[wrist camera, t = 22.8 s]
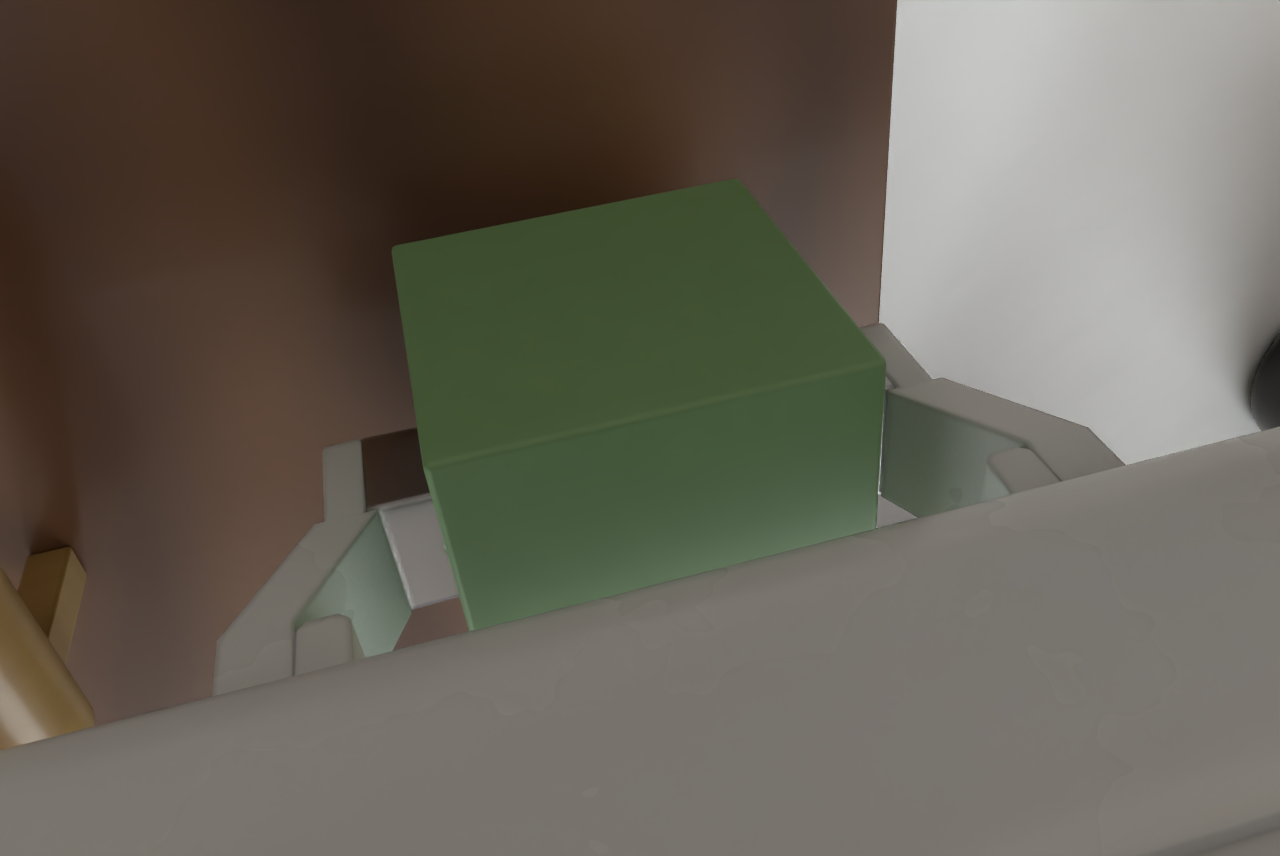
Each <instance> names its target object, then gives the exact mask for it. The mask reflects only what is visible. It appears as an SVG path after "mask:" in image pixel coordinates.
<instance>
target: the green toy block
mask: <svg viewBox="0 0 1280 856" xmlns="http://www.w3.org/2000/svg"><path fill="white" fill-rule="evenodd" d="M392 259H393V266H394V272H395V279H396V286H397V293H398V300H399V307H400V313H401V320H402V327H403V334H404V341H405V348H406V354H407V361H408V368H409V375H410V382H411V389H412V395H413V402H414V409H415V416H416V423H417V430H418V436H419V443H420V450H421V457H422V464H423V469H424V473H425V476H426V480H427V483H428V487H429V490H430V494H431V498H432V501H433V505H434V508H435V512H436V515H437V519H438V522H439V526H440V529H441V533H442V537H443V540H444V544H445V547H446V551H447V554H448V558H449V561H450V565H451V568H452V572H453V576H454V579H455V583H456V586H457V590H458V593H459V597H460V600H461V604H462V608H463V611H464V615H465V618H466V622H467V625H468V629H469V631H473V630H477V629H481V628H485V627H489V626H493V625H497V624H501V623H505V622H509V621H513V620H517V619H521V618H524V617H528V616H532V615H536V614H540V613H544V612H548V611H552V610H556V609H560V608H564V607H568V606H572V605H576V604H580V603H584V602H588V601H592V600H596V599H600V598H604V597H607V596H611V595H615V594H619V593H623V592H627V591H631V590H635V589H639V588H643V587H647V586H651V585H655V584H659V583H663V582H667V581H671V580H675V579H679V578H683V577H687V576H690V575H694V574H698V573H702V572H706V571H710V570H714V569H718V568H722V567H726V566H730V565H734V564H738V563H742V562H746V561H750V560H754V559H758V558H762V557H766V556H769V555H773V554H777V553H781V552H785V551H789V550H793V549H797V548H801V547H805V546H809V545H813V544H817V543H821V542H825V541H829V540H833V539H837V538H841V537H844V536H848V535H852V534H856V533H860V532H864V531H868V530H872V529H876V520H877V504H878V488H879V473H880V457H881V441H882V426H883V410H884V395H885V379H886V361H885V358H884V357H883V356H882V355H881V353H880V352H879V351H878V350H877V348H876V347H875V346H874V345H873V343H872V342H871V341H870V340H869V339H868V337H867V336H866V335H865V334H864V332H863V331H862V330H861V329H860V327H859V326H858V325H857V324H856V323H855V321H854V320H853V319H852V318H851V316H850V315H849V314H848V313H847V311H846V310H845V309H844V308H843V307H842V305H841V304H840V303H839V302H838V300H837V299H836V298H835V297H834V295H833V294H832V293H831V292H830V291H829V289H828V288H827V287H826V286H825V284H824V283H823V282H822V281H821V279H820V278H819V277H818V276H817V275H816V273H815V272H814V271H813V270H812V268H811V267H810V266H809V265H808V263H807V262H806V261H805V260H804V259H803V257H802V256H801V255H800V254H799V252H798V251H797V250H796V249H795V247H794V246H793V245H792V244H791V243H790V241H789V240H788V239H787V238H786V236H785V235H784V234H783V233H782V231H781V230H780V229H779V228H778V227H777V225H776V224H775V223H774V222H773V220H772V219H771V218H770V217H769V215H768V214H767V213H766V212H765V211H764V209H763V208H762V207H761V206H760V204H759V203H758V202H757V201H756V199H755V198H754V197H753V196H752V195H751V193H750V192H749V191H748V190H747V188H746V187H745V186H744V185H743V183H742V182H741V181H740V180H739V179H729V180H724V181H719V182H714V183H709V184H704V185H699V186H694V187H689V188H684V189H679V190H674V191H669V192H664V193H658V194H653V195H648V196H643V197H638V198H633V199H628V200H623V201H618V202H613V203H608V204H603V205H598V206H593V207H588V208H582V209H577V210H572V211H567V212H562V213H557V214H552V215H547V216H542V217H537V218H532V219H527V220H522V221H517V222H512V223H507V224H501V225H496V226H491V227H486V228H481V229H476V230H471V231H466V232H461V233H456V234H451V235H446V236H441V237H436V238H431V239H425V240H420V241H415V242H410V243H405V244H400V245H396V246H394V247H393V248H392Z"/></svg>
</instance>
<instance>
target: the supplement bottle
mask: <svg viewBox="0 0 1280 856" xmlns="http://www.w3.org/2000/svg"><path fill="white" fill-rule="evenodd" d="M1251 409H1252V413H1253V417H1254V419H1255V421H1256V423H1257V425H1258V427H1259V428H1260V429H1261V431H1264V430H1268V429H1272V428H1276V427H1280V335H1279V337H1278V338H1277V339H1276V340H1275V342H1274V343H1273V344H1272V346H1271V347H1270V348H1269V350H1268V351H1267V353H1266V354H1265V356H1264V358H1263V360H1262V361H1261V363H1260V365H1259V367H1258V370H1257V372H1256V375H1255V378H1254V381H1253V385H1252V390H1251Z"/></svg>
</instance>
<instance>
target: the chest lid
mask: <svg viewBox="0 0 1280 856" xmlns="http://www.w3.org/2000/svg"><path fill="white" fill-rule="evenodd" d="M896 11H897V0H0V750H3V749H7V748H11V747H15V746H19V745H23V744H27V743H31V742H35V741H39V740H42V739H46V738H50V737H54V736H58V735H62V734H66V733H70V732H74V731H78V730H82V729H86V728H90V727H94V726H98V725H102V724H106V723H110V722H114V721H118V720H121V719H125V718H129V717H133V716H137V715H141V714H145V713H149V712H153V711H157V710H161V709H165V708H169V707H173V706H177V705H181V704H185V703H189V702H193V701H196V700H200V699H204V698H208V697H212V692H213V681H214V670H215V659H216V648H217V640H218V639H219V638H220V637H221V636H222V634H223V633H224V632H225V631H226V630H227V628H228V627H229V626H230V625H231V624H232V622H233V621H234V620H235V619H236V617H237V616H238V615H239V614H240V613H241V611H242V610H243V609H244V608H245V607H246V605H247V604H248V603H249V602H250V601H251V599H252V598H253V597H254V596H255V595H256V593H257V592H258V591H259V590H260V589H261V587H262V586H263V585H264V584H265V583H266V581H267V580H268V579H269V578H270V577H271V575H272V574H273V573H274V572H275V571H276V569H277V568H278V567H279V566H280V565H281V563H282V562H283V561H284V560H285V559H286V557H287V556H288V555H289V554H290V553H291V551H292V550H293V549H294V548H295V546H296V545H297V544H298V543H299V542H300V540H301V539H302V538H303V537H304V536H305V534H306V533H307V532H308V531H309V530H310V528H311V527H312V526H313V525H314V524H317V523H321V522H324V495H323V454H322V453H323V451H324V448H325V446H330V445H334V444H339V443H343V442H348V441H352V440H357V439H361V440H362V439H363V438H366V437H371V436H376V435H381V434H386V433H391V432H396V431H401V430H406V429H411V428H416V427H417V423H416V416H415V409H414V402H413V395H412V389H411V382H410V375H409V368H408V361H407V354H406V348H405V341H404V334H403V327H402V320H401V313H400V307H399V300H398V293H397V286H396V279H395V272H394V266H393V259H392V248H393V247H394V246H396V245H400V244H405V243H410V242H415V241H420V240H425V239H431V238H436V237H441V236H446V235H451V234H456V233H461V232H466V231H471V230H476V229H481V228H486V227H491V226H496V225H501V224H507V223H512V222H517V221H522V220H527V219H532V218H537V217H542V216H547V215H552V214H557V213H562V212H567V211H572V210H577V209H582V208H588V207H593V206H598V205H603V204H608V203H613V202H618V201H623V200H628V199H633V198H638V197H643V196H648V195H653V194H658V193H664V192H669V191H674V190H679V189H684V188H689V187H694V186H699V185H704V184H709V183H714V182H719V181H724V180H729V179H739V180H740V181H741V182H742V183H743V185H744V186H745V187H746V188H747V190H748V191H749V192H750V193H751V195H752V196H753V197H754V198H755V199H756V201H757V202H758V203H759V204H760V206H761V207H762V208H763V209H764V211H765V212H766V213H767V214H768V215H769V217H770V218H771V219H772V220H773V222H774V223H775V224H776V225H777V227H778V228H779V229H780V230H781V231H782V233H783V234H784V235H785V236H786V238H787V239H788V240H789V241H790V243H791V244H792V245H793V246H794V247H795V249H796V250H797V251H798V252H799V254H800V255H801V256H802V257H803V259H804V260H805V261H806V262H807V263H808V265H809V266H810V267H811V268H812V270H813V271H814V272H815V273H816V275H817V276H818V277H819V278H820V279H821V281H822V282H823V283H824V284H825V286H826V287H827V288H828V289H829V291H830V292H831V293H832V294H833V295H834V297H835V298H836V299H837V300H838V302H839V303H840V304H841V305H842V307H843V308H844V309H845V310H846V311H847V313H848V314H849V315H850V316H851V318H852V319H853V320H854V321H855V323H856V324H857V325H858V326H859V327H863V326H867V325H871V324H875V323H879V306H880V289H881V272H882V254H883V237H884V220H885V202H886V185H887V167H888V150H889V133H890V115H891V98H892V80H893V63H894V46H895V28H896ZM411 613H412V614H411V616H410V618H409V620H408V622H407V623H406V625H405V627H404V629H403V631H402V633H401V635H400V637H399V639H398V641H397V643H396V645H395V646H394V648H393V650H392V651H394V650H398V649H402V648H406V647H410V646H414V645H418V644H422V643H426V642H430V641H434V640H438V639H441V638H445V637H449V636H453V635H457V634H461V633H465V632H469V629H468V625H467V622H466V618H465V615H464V611H463V608H462V604H461V600H460V597H457V598H454V599H450V600H446V601H443V602H439V603H435V604H432V605H428V606H425V607H421V608H417V609H414V610H411Z"/></svg>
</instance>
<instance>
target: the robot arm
mask: <svg viewBox="0 0 1280 856" xmlns="http://www.w3.org/2000/svg"><path fill="white" fill-rule="evenodd" d="M860 329H861V330H862V331H863V332H864V334H865V335H866V336H867V337H868V339H869V340H870V341H871V342H872V343H873V345H874V346H875V347H876V348H877V350H878V351H879V352H880V353H881V355H882V356H883V357H884V358H885V361H886V379H885V395H884V410H883V426H882V441H881V457H880V473H879V488H878V494H881V496H882V497H883V498H885V499H887V500H889V501H890V502H892V503H894V504H896V505H897V506H899V507H901V508H903V509H904V510H906V511H908V512H909V513H911V514H913V515H915V516H916V517H918V518H916V519H912V520H908V521H904V522H900V523H896V524H892V525H888V526H884V527H880V528H876V529H872V530H868V531H864V532H860V533H856V534H852V535H848V536H844V537H841V538H837V539H833V540H829V541H825V542H821V543H817V544H813V545H809V546H805V547H801V548H797V549H793V550H789V551H785V552H781V553H777V554H773V555H769V556H766V557H762V558H758V559H754V560H750V561H746V562H742V563H738V564H734V565H730V566H726V567H722V568H718V569H714V570H710V571H706V572H702V573H698V574H694V575H690V576H687V577H683V578H679V579H675V580H671V581H667V582H663V583H659V584H655V585H651V586H647V587H643V588H639V589H635V590H631V591H627V592H623V593H619V594H615V595H611V596H607V597H604V598H600V599H596V600H592V601H588V602H584V603H580V604H576V605H572V606H568V607H564V608H560V609H556V610H552V611H548V612H544V613H540V614H536V615H532V616H528V617H524V618H521V619H517V620H513V621H509V622H505V623H501V624H497V625H493V626H489V627H485V628H481V629H477V630H473V631H469V632H465V633H461V634H457V635H453V636H449V637H445V638H441V639H438V640H434V641H430V642H426V643H422V644H418V645H414V646H410V647H406V648H402V649H398V650H394V651H392V650H393V648H394V646H395V645H396V643H397V641H398V639H399V637H400V635H401V633H402V631H403V629H404V627H405V625H406V623H407V622H408V620H409V618H410V616H411V614H412V613H411V610H414V609H417V608H421V607H425V606H428V605H432V604H435V603H439V602H443V601H446V600H450V599H454V598H457V597H459V593H458V590H457V586H456V583H455V579H454V576H453V572H452V568H451V565H450V561H449V558H448V554H447V551H446V547H445V544H444V540H443V537H442V533H441V529H440V526H439V522H438V519H437V515H436V512H435V508H434V505H433V501H432V498H431V494H430V490H429V487H428V483H427V480H426V476H425V473H424V469H423V464H422V457H421V450H420V443H419V436H418V430H417V427H416V428H411V429H406V430H401V431H396V432H391V433H386V434H381V435H376V436H371V437H366V438H363V439H362V440H361V439H357V440H352V441H348V442H343V443H339V444H334V445H330V446H325V448H324V451H323V453H322V454H323V495H324V522H321V523H317V524H314V525H313V526H312V527H311V528H310V530H309V531H308V532H307V533H306V534H305V536H304V537H303V538H302V539H301V540H300V542H299V543H298V544H297V545H296V546H295V548H294V549H293V550H292V551H291V553H290V554H289V555H288V556H287V557H286V559H285V560H284V561H283V562H282V563H281V565H280V566H279V567H278V568H277V569H276V571H275V572H274V573H273V574H272V575H271V577H270V578H269V579H268V580H267V581H266V583H265V584H264V585H263V586H262V587H261V589H260V590H259V591H258V592H257V593H256V595H255V596H254V597H253V598H252V599H251V601H250V602H249V603H248V604H247V605H246V607H245V608H244V609H243V610H242V611H241V613H240V614H239V615H238V616H237V617H236V619H235V620H234V621H233V622H232V624H231V625H230V626H229V627H228V628H227V630H226V631H225V632H224V633H223V634H222V636H221V637H220V638H219V639H218V640H217V648H216V659H215V670H214V681H213V692H212V697H208V698H204V699H200V700H196V701H193V702H189V703H185V704H181V705H177V706H173V707H169V708H165V709H161V710H157V711H153V712H149V713H145V714H141V715H137V716H133V717H129V718H125V719H121V720H118V721H114V722H110V723H106V724H102V725H98V726H94V727H90V728H86V729H82V730H78V731H74V732H70V733H66V734H62V735H58V736H54V737H50V738H46V739H42V740H39V741H35V742H31V743H27V744H23V745H19V746H15V747H11V748H7V749H3V750H0V856H1280V427H1276V428H1272V429H1268V430H1264V431H1260V432H1256V433H1252V434H1248V435H1244V436H1240V437H1236V438H1232V439H1228V440H1224V441H1220V442H1216V443H1212V444H1208V445H1205V446H1201V447H1197V448H1193V449H1189V450H1185V451H1181V452H1177V453H1173V454H1169V455H1165V456H1161V457H1157V458H1153V459H1149V460H1145V461H1141V462H1137V463H1133V464H1129V465H1125V464H1124V463H1123V462H1122V461H1121V460H1120V459H1119V458H1118V457H1117V456H1116V455H1115V454H1114V453H1113V452H1112V451H1111V450H1110V449H1109V448H1108V447H1107V446H1106V445H1105V444H1104V443H1103V442H1102V441H1101V440H1100V439H1099V438H1098V437H1097V436H1096V435H1095V434H1094V433H1093V432H1092V431H1091V430H1090V429H1089V428H1088V427H1085V426H1082V425H1079V424H1076V423H1073V422H1070V421H1067V420H1065V419H1062V418H1059V417H1056V416H1053V415H1050V414H1047V413H1044V412H1041V411H1038V410H1035V409H1032V408H1029V407H1027V406H1024V405H1021V404H1018V403H1015V402H1012V401H1009V400H1006V399H1003V398H1000V397H997V396H994V395H991V394H988V393H986V392H983V391H980V390H977V389H974V388H971V387H968V386H965V385H962V384H959V383H956V382H953V381H950V380H948V379H945V378H938V379H934V380H933V379H932V378H931V377H930V376H929V375H928V374H927V372H926V371H925V370H924V369H923V368H922V367H921V366H920V364H919V363H918V362H917V361H916V360H915V359H914V358H913V356H912V355H911V354H910V353H909V352H908V351H907V350H906V348H905V347H904V346H903V345H902V344H901V343H900V342H899V341H898V339H897V338H896V337H895V336H894V335H893V334H892V333H891V331H890V330H889V329H888V328H887V327H886V326H885V325H884V324H881V323H875V324H871V325H867V326H863V327H860Z"/></svg>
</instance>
